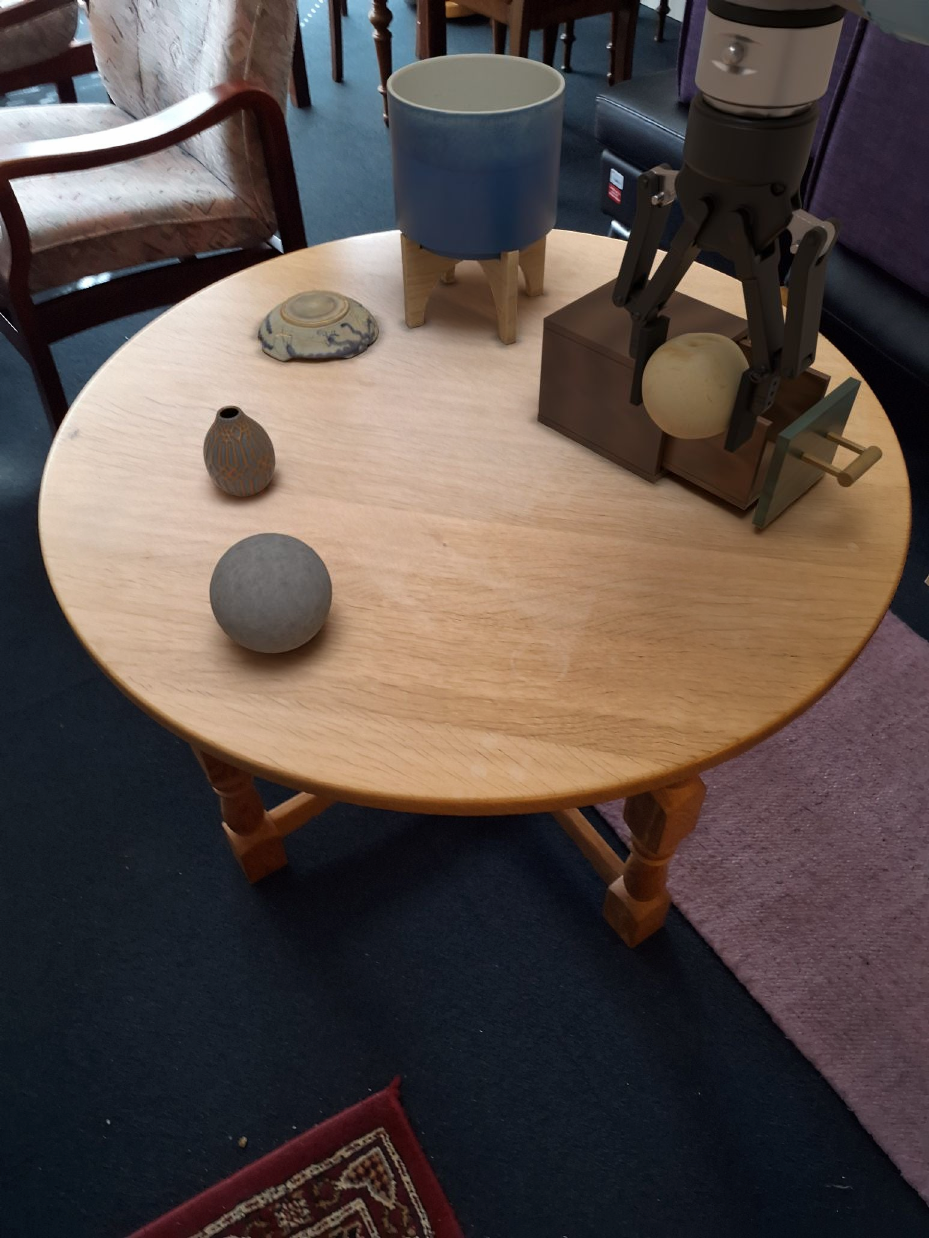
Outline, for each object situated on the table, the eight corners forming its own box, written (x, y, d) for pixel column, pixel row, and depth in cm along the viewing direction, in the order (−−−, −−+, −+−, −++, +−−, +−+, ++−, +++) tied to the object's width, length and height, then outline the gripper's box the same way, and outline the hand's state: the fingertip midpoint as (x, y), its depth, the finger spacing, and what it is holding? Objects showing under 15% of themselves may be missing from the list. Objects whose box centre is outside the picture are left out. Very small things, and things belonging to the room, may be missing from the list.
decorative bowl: (232, 340, 111) (320, 379, 105) (226, 312, 108) (316, 350, 102) (316, 293, 119) (402, 326, 113) (312, 266, 117) (400, 299, 110)
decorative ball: (199, 639, 78) (170, 555, 70) (284, 576, 83) (265, 492, 75) (277, 696, 73) (255, 614, 66) (362, 626, 79) (350, 542, 71)
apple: (689, 467, 65) (653, 371, 62) (646, 445, 72) (612, 358, 69) (784, 415, 65) (752, 316, 62) (731, 398, 72) (701, 309, 69)
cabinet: (729, 426, 98) (754, 322, 89) (653, 483, 91) (672, 378, 82) (615, 371, 105) (628, 270, 96) (537, 420, 99) (543, 318, 90)
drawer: (877, 493, 89) (915, 403, 81) (811, 556, 83) (845, 465, 75) (709, 412, 98) (728, 325, 90) (638, 463, 92) (653, 375, 84)
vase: (274, 506, 90) (258, 433, 83) (206, 506, 90) (185, 433, 83) (284, 463, 94) (270, 391, 88) (219, 463, 94) (200, 391, 88)
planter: (578, 325, 113) (599, 93, 93) (440, 363, 107) (432, 125, 88) (506, 261, 124) (512, 44, 105) (378, 292, 119) (359, 69, 99)
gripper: (578, 72, 56) (554, 387, 72) (895, 161, 46) (782, 502, 63) (650, 44, 59) (611, 351, 76) (958, 121, 49) (836, 454, 66)
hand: (689, 419), depth 69 cm, fingers closed on apple, 8 cm apart
